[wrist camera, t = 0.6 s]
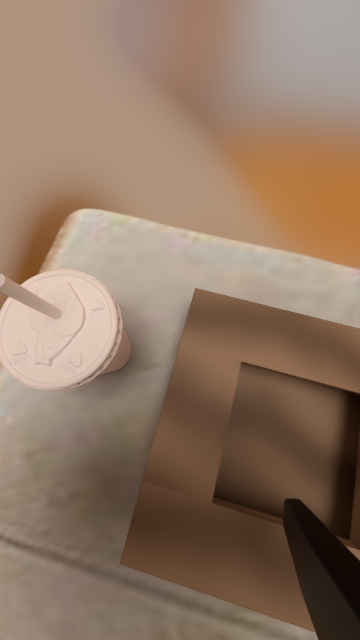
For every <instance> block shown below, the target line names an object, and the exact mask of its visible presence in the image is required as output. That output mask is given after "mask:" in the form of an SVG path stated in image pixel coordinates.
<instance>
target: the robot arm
mask: <svg viewBox="0 0 360 640" xmlns="http://www.w3.org/2000/svg"><path fill="white" fill-rule="evenodd" d="M283 527H284V531H285V534H286V538H287V542H288V545H289V549H290V552H291V556H292V560H293V563H294V567H295V570H296V574H297V578H298V581H299V585H300V588H301V592H302V595H303V598H304V601H305V604H306V607H307V610H308V612H309V615H310V618H311V621H312V623H313V626H314V629H315V632H316V634H317V637H318V640H360V560H359V559H358V558H357V557H356V556H355V555H354V554H353V553H352V552H351V551H350V550H349V549H348V548H347V547H346V546H345V545H344V544H343V543H342V542H341V541H340V540H339V539H338V538H337V537H336V536H335V535H334V534H333V533H332V532H331V531H330V530H329V529H328V527H327V526H326V525H325V524H324V523H323V522H322V521H321V520H320V519H319V518H318V517H317V516H316V515H315V514H314V513H313V512H312V511H311V510H310V509H309V508H308V507H307V506H306V505H305V504H304V503H303V502H302V501H301V500H300V499H298V498H287V499H285V501H284V509H283Z"/></svg>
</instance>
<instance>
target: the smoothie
mask: <svg viewBox="0 0 360 640" xmlns="http://www.w3.org/2000/svg"><path fill="white" fill-rule="evenodd" d="M0 292H1V293H3V294H5V295H7V296H9V298H8V299H7V300H6V302H5V303H4V305H3V307H2V309H1V311H0V362H1V364H2V366H3V367H4V368H5V370H6V371H7V372H8V373H9V374H10V375H11V376H12V377H13V378H14V379H16V380H17V381H19V382H20V383H22V384H24V385H27V386H29V387H33V388H36V389H44V390H56V391H63V390H67V389H72V388H76V387H79V386H81V385H83V384H85V383H87V382H89V381H91V380H93V379H94V378H95V377H96V376H98V375H101V374H105V373H109V372H113V371H116V370H118V369H120V368H122V367H123V366H124V365H125V364H126V363H127V362H128V360H129V358H130V355H131V343H130V341H129V339H128V337H127V334H126V332H125V330H124V328H123V323H122V316H121V310H120V308H119V306H118V304H117V302H116V299H115V297H114V296H113V295H112V294H111V293H110V292H109V290H108V289H107V288H106V287H105V286H103V285H102V284H101V283H100V282H99V281H98V280H96V279H95V278H94V277H92V276H90V275H88V274H86V273H83V272H80V271H76V270H69V269H59V270H51V271H47V272H44V273H41V274H38V275H36V276H34V277H32V278H30V279H29V280H27V281H26V282H24V283H23V284H21V285H18V284H17V283H15V282H13V281H12V280H10V279H8V278H6V277H5V276H3V275H2V274H0Z"/></svg>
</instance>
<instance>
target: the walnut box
mask: <svg viewBox="0 0 360 640" xmlns="http://www.w3.org/2000/svg"><path fill="white" fill-rule="evenodd" d="M287 498H298V499H300V500H301V501H302V502H303V503H304V504H305V505H306V506H307V507H308V508H309V509H310V510H311V511H312V512H313V513H314V514H315V515H316V516H317V517H318V518H319V519H320V520H321V521H322V522H323V523H324V524H325V525H326V526H327V527H328V529H329V530H330V531H331V532H332V533H333V534H334V535H335V536H336V537H337V538H338V539H339V540H340V541H341V542H342V543H343V544H344V545H345V546H346V547H347V548H348V549H349V550H350V551H351V552H352V553H353V554H354V555H355V556H356V557H357V558H358V559H359V560H360V329H359V328H355V327H351V326H347V325H343V324H339V323H335V322H331V321H327V320H322V319H318V318H314V317H310V316H306V315H302V314H298V313H294V312H290V311H286V310H282V309H278V308H274V307H270V306H266V305H262V304H258V303H254V302H250V301H246V300H241V299H237V298H233V297H229V296H225V295H221V294H217V293H213V292H209V291H205V290H201V289H197V288H195V291H194V295H193V299H192V302H191V306H190V309H189V313H188V317H187V320H186V324H185V328H184V331H183V335H182V339H181V342H180V346H179V350H178V353H177V357H176V361H175V364H174V368H173V371H172V375H171V379H170V382H169V386H168V390H167V393H166V397H165V401H164V404H163V408H162V412H161V415H160V419H159V422H158V426H157V430H156V433H155V437H154V441H153V444H152V448H151V452H150V455H149V459H148V463H147V466H146V470H145V473H144V477H143V481H142V484H141V488H140V492H139V495H138V499H137V503H136V506H135V510H134V514H133V517H132V521H131V525H130V528H129V532H128V535H127V539H126V543H125V546H124V550H123V554H122V557H121V561H120V564H122V565H125V566H128V567H131V568H134V569H136V570H139V571H142V572H145V573H148V574H151V575H154V576H156V577H159V578H162V579H165V580H168V581H171V582H173V583H176V584H179V585H182V586H185V587H188V588H191V589H193V590H196V591H199V592H202V593H205V594H208V595H210V596H213V597H216V598H219V599H222V600H225V601H228V602H230V603H233V604H236V605H239V606H242V607H245V608H248V609H250V610H253V611H256V612H259V613H262V614H265V615H267V616H270V617H273V618H276V619H279V620H282V621H285V622H287V623H290V624H293V625H296V626H299V627H302V628H304V629H307V630H310V631H313V632H315V629H314V626H313V623H312V621H311V618H310V615H309V612H308V610H307V607H306V604H305V601H304V598H303V595H302V592H301V588H300V585H299V581H298V578H297V574H296V570H295V567H294V563H293V560H292V556H291V552H290V549H289V545H288V542H287V538H286V534H285V531H284V527H283V509H284V501H285V499H287Z"/></svg>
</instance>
